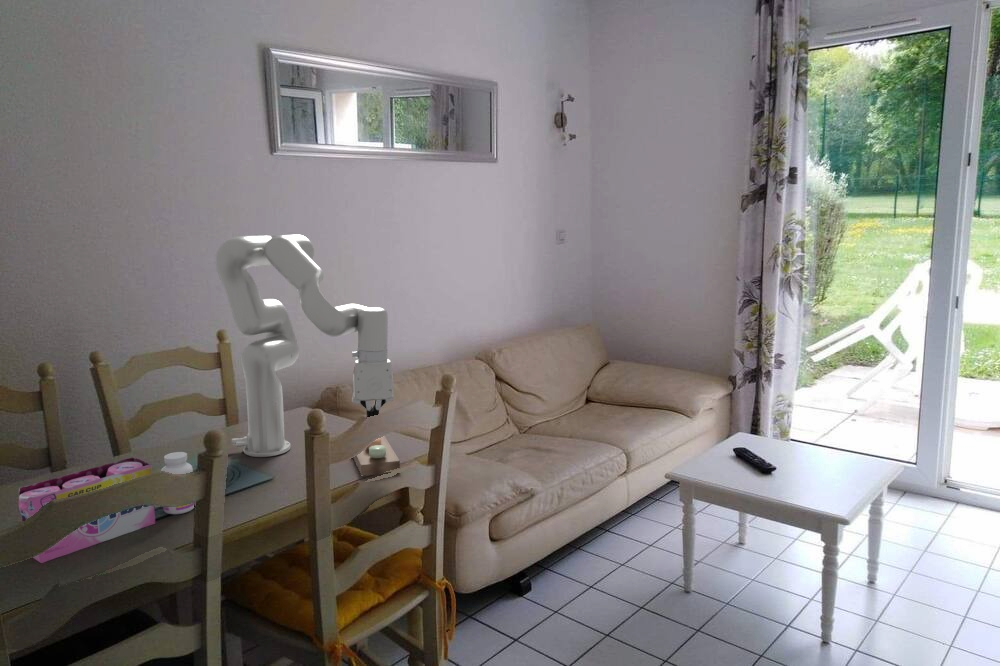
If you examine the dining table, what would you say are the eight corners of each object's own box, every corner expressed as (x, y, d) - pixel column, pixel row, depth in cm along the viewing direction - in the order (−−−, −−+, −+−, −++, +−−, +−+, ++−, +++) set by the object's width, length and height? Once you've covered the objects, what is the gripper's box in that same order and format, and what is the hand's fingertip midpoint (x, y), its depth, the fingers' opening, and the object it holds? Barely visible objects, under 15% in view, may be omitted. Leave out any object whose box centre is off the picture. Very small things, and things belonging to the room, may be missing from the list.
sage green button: (370, 458, 181) (370, 451, 181) (367, 453, 185) (367, 446, 185) (387, 457, 183) (387, 449, 183) (384, 451, 187) (384, 444, 187)
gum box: (33, 567, 133) (25, 500, 130) (16, 555, 137) (8, 489, 135) (156, 523, 152) (152, 463, 149) (138, 513, 156) (133, 455, 154)
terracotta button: (366, 450, 188) (366, 443, 188) (363, 445, 192) (363, 438, 192) (382, 448, 189) (382, 441, 189) (379, 443, 193) (379, 436, 193)
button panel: (361, 476, 179) (361, 465, 179) (349, 448, 200) (348, 438, 199) (399, 471, 183) (399, 460, 182) (384, 445, 203) (383, 435, 203)
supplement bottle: (201, 504, 162) (197, 450, 160) (185, 516, 155) (181, 461, 153) (173, 502, 162) (169, 449, 160) (157, 514, 156) (152, 459, 154)
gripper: (345, 359, 175) (345, 430, 178) (404, 357, 180) (403, 426, 183) (341, 353, 182) (342, 421, 185) (398, 351, 187) (398, 417, 190)
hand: (372, 423), depth 184 cm, fingers closed
